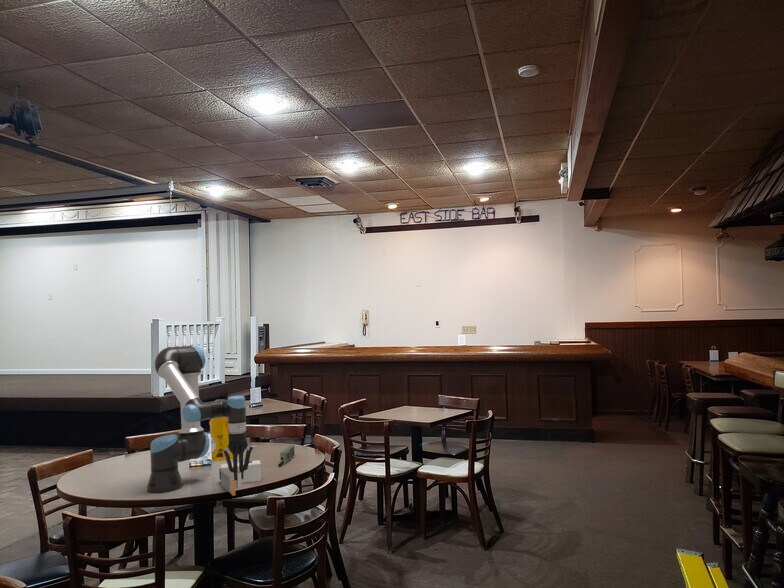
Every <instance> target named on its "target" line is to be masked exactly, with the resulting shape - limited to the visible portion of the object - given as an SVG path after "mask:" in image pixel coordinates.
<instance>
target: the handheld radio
mask: <svg viewBox="0 0 784 588" xmlns="http://www.w3.org/2000/svg"><path fill="white" fill-rule="evenodd" d="M294 455H295V456H296V453H295V444H289V446H287V447H285V448H284V449H282V451H280V452H279V458H280V462H279V463H278V464H277V465H278V467H281V466H282V465H286V464H287V463H288V462H290V461H291V460H292V459H293V458H294V457H295V456H294ZM293 456H294V457H293ZM292 457H293V458H292ZM291 458H292V459H291ZM290 459H291V460H290ZM289 460H290V461H289ZM286 462H287V463H286ZM285 463H286V464H285Z"/></svg>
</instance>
